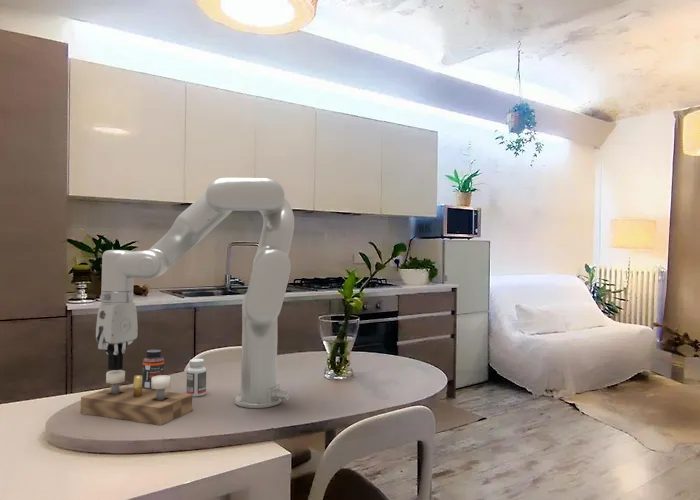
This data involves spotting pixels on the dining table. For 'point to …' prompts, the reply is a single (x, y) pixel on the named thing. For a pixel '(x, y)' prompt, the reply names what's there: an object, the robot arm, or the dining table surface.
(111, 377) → the knob far
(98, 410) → the mount
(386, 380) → the dining table surface
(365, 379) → the dining table surface
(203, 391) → the pill bottle
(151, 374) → the supplement bottle
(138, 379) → the brass stem
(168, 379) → the knob near
